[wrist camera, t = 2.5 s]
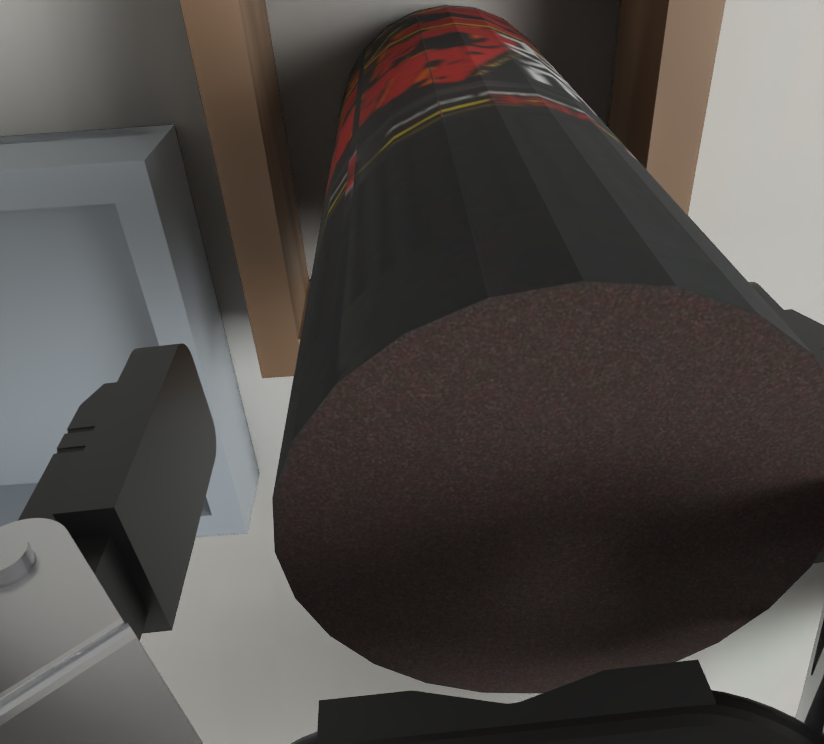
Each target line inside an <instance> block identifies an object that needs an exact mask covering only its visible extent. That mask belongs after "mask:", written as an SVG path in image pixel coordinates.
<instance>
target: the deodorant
mask: <svg viewBox="0 0 824 744" xmlns="http://www.w3.org/2000/svg"><path fill="white" fill-rule="evenodd" d="M273 520H274V543H275V553H276V555H277V558H278V560H279V562H280V565H281V567H282V569H283V571H284V574H285V576H286V578H287V581H288V583H289V585H290V587H291V590H292V592H293V594H294V596H295V598H296V599H297V601H298V602H299V603H300V604H301V605H302V606H303V607H304V608H305V609H306V610H307V611H308V612H309V614H310V615H311V616H312V617H313V618H314V619H315V620H316V621H317V622H318V623H319V624H320V626H321V627H322V628H323V629H324V630H325V631H326V632H327V633H328V634H329V635H330V636H331V637H333V638H334V639H336V640H337V641H339V642H341V643H342V644H344V645H345V646H347V647H348V648H350V649H352V650H353V651H355V652H356V653H358V654H359V655H361V656H363V657H364V658H366V659H367V660H369V661H370V662H372V663H374V664H376V665H379V666H381V667H384V668H387V669H390V670H392V671H395V672H398V673H401V674H403V675H406V676H409V677H412V678H414V679H417V680H420V681H422V682H425V683H430V684H436V685H442V686H448V687H454V688H459V689H465V690H471V691H477V692H486V693H545V692H548V691H551V690H553V689H556V688H558V687H561V686H564V685H566V684H569V683H572V682H574V681H577V680H579V679H582V678H585V677H587V676H590V675H592V674H595V673H598V672H600V671H603V670H608V669H617V668H626V667H635V666H645V665H654V664H663V663H673V662H676V661H679V660H681V659H683V658H685V657H687V656H690V655H692V654H694V653H696V652H698V651H701V650H703V649H705V648H707V647H709V646H711V645H714V644H716V643H718V642H720V641H721V640H723V639H724V638H726V637H727V636H728V635H730V634H731V633H733V632H734V631H736V630H737V629H739V628H740V627H742V626H743V625H745V624H746V623H748V622H749V621H751V620H752V619H754V618H755V617H757V616H758V615H760V614H761V613H763V612H764V611H766V610H767V609H769V608H770V607H771V606H772V605H773V604H774V603H775V602H776V601H777V600H778V599H779V598H780V597H781V596H782V595H783V594H784V593H785V592H786V591H787V590H788V589H789V588H790V587H791V586H792V585H793V584H794V583H795V582H796V581H797V580H798V579H799V578H800V577H801V576H802V575H803V574H804V573H805V572H806V571H807V570H808V569H809V568H810V567H811V566H812V564H813V562H814V561H815V559H816V557H817V556H818V554H819V552H820V551H821V549H822V547H823V546H824V370H823V368H822V367H821V365H820V364H819V362H818V360H817V359H816V357H815V355H814V354H813V353H812V352H811V351H810V350H809V349H808V348H807V346H806V345H805V344H804V343H803V342H802V341H801V340H800V339H799V338H798V336H797V335H796V334H795V333H794V332H793V331H792V330H791V329H790V328H789V327H788V325H787V324H786V323H785V322H784V321H783V320H782V319H781V318H780V317H779V316H778V314H777V313H776V312H775V311H774V310H773V309H772V308H771V307H770V306H769V305H768V303H767V302H766V301H765V300H764V299H763V298H762V297H761V296H760V295H759V293H758V292H757V291H756V290H755V289H754V288H753V287H752V286H751V285H750V284H749V282H748V281H747V280H746V279H745V278H744V277H743V276H742V275H741V274H740V273H739V271H738V270H737V269H736V268H735V267H734V266H733V265H732V264H731V263H730V262H729V260H728V259H727V258H726V257H725V256H724V255H723V254H722V253H721V252H720V250H719V249H718V248H717V247H716V246H715V245H714V244H713V243H712V242H711V241H710V239H709V238H708V237H707V236H706V235H705V234H704V233H703V232H702V231H701V230H700V228H699V227H698V226H697V225H696V224H695V223H694V222H693V221H692V220H691V219H690V217H689V216H688V215H687V214H686V213H685V212H684V211H683V210H682V209H681V207H680V206H679V205H678V204H677V203H676V202H675V201H674V200H673V199H672V198H671V196H670V195H669V194H668V193H667V192H666V191H665V190H664V189H663V188H662V187H661V185H660V184H659V183H658V182H657V181H656V180H655V179H654V178H653V177H652V175H651V174H650V173H649V172H648V171H647V170H646V169H645V168H644V167H643V166H642V164H641V163H640V162H639V161H638V160H637V159H636V158H635V157H634V156H633V155H632V153H631V152H630V151H629V150H628V149H627V148H626V147H625V146H624V145H623V144H622V142H621V141H620V140H619V139H618V138H617V137H616V136H615V135H614V134H613V132H612V131H611V130H610V129H609V128H608V127H607V126H606V125H605V124H604V123H603V121H602V120H601V119H600V118H599V117H598V116H597V115H596V114H595V113H594V112H593V110H592V109H591V108H590V107H589V106H588V105H587V104H586V103H585V102H584V101H583V99H582V98H581V97H580V96H579V95H578V94H577V93H576V92H575V91H574V89H573V88H572V87H571V86H570V85H569V84H568V83H567V82H566V81H565V80H564V78H563V77H562V76H561V75H560V74H559V73H558V72H557V71H556V70H555V69H554V67H553V66H552V65H551V64H550V63H549V62H548V61H547V60H546V59H545V58H544V56H543V55H542V54H541V53H540V52H539V51H538V50H537V49H536V48H535V46H534V45H533V44H532V43H531V42H530V41H529V40H528V39H527V38H526V37H525V36H524V35H523V34H521V33H520V32H519V31H518V30H516V29H515V28H514V27H513V26H511V25H510V24H509V23H508V22H507V21H505V20H504V19H502V18H500V17H497V16H495V15H492V14H490V13H487V12H485V11H482V10H480V9H477V8H472V7H460V6H448V5H444V6H440V7H435V8H430V9H425V10H421V11H416V12H414V13H412V14H410V15H408V16H406V17H404V18H402V19H401V20H399V21H397V22H395V23H393V24H391V25H389V26H388V27H387V28H386V29H385V30H384V31H383V32H382V33H381V34H380V35H378V36H377V37H376V38H375V39H374V40H373V41H372V42H371V43H370V44H369V45H368V46H367V47H366V48H365V50H364V51H363V53H362V55H361V56H360V58H359V60H358V61H357V63H356V65H355V66H354V68H353V70H352V71H351V73H350V76H349V79H348V83H347V86H346V90H345V93H344V97H343V100H342V105H341V110H340V116H339V122H338V127H337V133H336V139H335V145H334V150H333V156H332V162H331V167H330V173H329V179H328V185H327V190H326V196H325V202H324V207H323V213H322V219H321V225H320V230H319V236H318V242H317V247H316V253H315V259H314V265H313V270H312V276H311V282H310V287H309V293H308V299H307V305H306V310H305V316H304V322H303V328H302V333H301V339H300V345H299V350H298V356H297V362H296V368H295V373H294V379H293V385H292V390H291V396H290V402H289V408H288V413H287V419H286V425H285V430H284V436H283V442H282V448H281V453H280V459H279V465H278V470H277V476H276V482H275V488H274V493H273Z"/></svg>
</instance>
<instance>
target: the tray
mask: <svg viewBox="0 0 824 744" xmlns="http://www.w3.org/2000/svg"><path fill="white" fill-rule="evenodd" d="M181 343H183V344H185V345H186V346H187V347H188V348H189V350H190V352H191V354H192V357H193V360H194V363H195V366H196V369H197V372H198V375H199V378H200V382H201V385H202V388H203V391H204V394H205V397H206V400H207V403H208V406H209V409H210V412H211V415H212V419H213V422H214V427H215V433H216V457H215V462H214V466H213V470H212V474H211V478H210V482H209V486H208V490H207V494H206V497H205V501H204V505H203V509H202V513H201V517H200V521H199V525H198V529H197V533H196V537H205V536H220V535H235V534H247V533H248V528H249V523H250V518H251V513H252V508H253V503H254V498H255V493H256V488H257V484H258V479H259V469H258V465H257V461H256V457H255V453H254V449H253V445H252V441H251V437H250V433H249V429H248V425H247V420H246V416H245V412H244V408H243V404H242V400H241V396H240V392H239V388H238V384H237V380H236V376H235V371H234V367H233V363H232V359H231V355H230V351H229V347H228V343H227V339H226V335H225V331H224V326H223V322H222V318H221V314H220V310H219V306H218V302H217V298H216V294H215V290H214V286H213V282H212V277H211V273H210V269H209V265H208V261H207V257H206V253H205V249H204V245H203V241H202V237H201V232H200V228H199V224H198V220H197V216H196V212H195V208H194V204H193V200H192V196H191V192H190V188H189V183H188V179H187V175H186V171H185V167H184V163H183V159H182V155H181V151H180V147H179V143H178V139H177V134H176V130H175V126H174V125H162V126H147V127H133V128H118V129H104V130H89V131H74V132H60V133H45V134H31V135H16V136H1V137H0V527H1V526H3V525H6V524H9V523H12V522H15V521H18V519H19V517H20V515H21V514H22V512H23V510H24V508H25V506H26V504H27V502H28V501H29V499H30V497H31V495H32V493H33V491H34V489H35V488H36V486H37V484H38V482H39V480H40V478H41V476H42V475H43V473H44V471H45V469H46V467H47V465H48V463H49V462H50V460H51V458H52V456H53V454H56V453H57V447H58V445H59V443H60V441H61V439H62V437H63V436H64V434H67V433H68V431H67V428H68V426H69V424H70V423H71V421H72V419H73V417H74V415H75V413H76V411H77V410H78V408H79V406H80V405H81V404H82V403H83V402H84V401H85V400H86V399H87V398H89V397H90V396H91V395H92V394H93V393H94V392H95V391H96V390H97V389H99V388H100V387H101V386H102V385H103V384H105V383H114V382H117V381H118V379H119V377H120V375H121V373H122V371H123V369H124V367H125V365H126V363H127V361H128V358H129V356H130V354H131V353H132V351H133V350H134V349H136V348H144V347H153V346H162V345H172V344H181Z"/></svg>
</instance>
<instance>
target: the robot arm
mask: <svg viewBox="0 0 824 744" xmlns="http://www.w3.org/2000/svg"><path fill="white" fill-rule="evenodd" d="M749 284H750V285H751V286H752V287H753V288H754V289H755V290H756V291H757V292H758V293H759V295H760V296H761V297H762V298H763V299H764V300H765V301H766V302H767V303H768V305H769V306H770V307H771V308H772V309H773V310H774V311H775V312H776V313H777V314H778V316H779V317H780V318H781V319H782V320H783V321H784V322H785V323H786V324H787V325H788V327H789V328H790V329H791V330H792V331H793V332H794V333H795V334H796V335H797V336H798V338H799V339H800V340H801V341H802V342H803V343H804V344H805V345H806V346H807V348H808V349H809V350H810V351H811V352H812V353H813V354H814V355H815V357H816V359H817V360H818V362H819V364H820V365H821V367H822V368H823V370H824V325H822V324H820V323H818V322H816V321H814V320H812V319H810V318H808V317H806V316H804V315H802V314H800V313H798V312H796V311H794V310H792V309H790V310H783V309H782V308H781V307H780V306H779V305H778V304H777V303H776V302H775V301H774V300H773V299H772V298H771V297H770V296H769V295H768V293H767V292H766V291H765V290H764V289H763V288H762V287H761V286H760V285H758V284H757V283H755V282H749ZM67 431H68V433H67V434H64V436H63V437H62V439H61V441H60V443H59V445H58V447H57V453H56V454H53V456H52V458H51V460H50V462H49V463H48V465H47V467H46V469H45V471H44V473H43V475H42V476H41V478H40V480H39V482H38V484H37V486H36V488H35V489H34V491H33V493H32V495H31V497H30V499H29V501H28V502H27V504H26V506H25V508H24V510H23V512H22V514H21V515H20V517H19V519H18V521H15V522H12V523H9V524H6V525H3V526H1V527H0V744H203V742H202V741H201V739H200V738H199V736H198V734H197V733H196V731H195V730H194V728H193V726H192V725H191V723H190V722H189V720H188V718H187V717H186V715H185V714H184V712H183V710H182V709H181V707H180V705H179V704H178V702H177V701H176V699H175V697H174V696H173V694H172V693H171V691H170V689H169V688H168V686H167V685H166V683H165V681H164V680H163V678H162V677H161V675H160V673H159V672H158V670H157V669H156V667H155V665H154V664H153V662H152V661H151V659H150V657H149V656H148V654H147V653H146V651H145V649H144V648H143V646H142V645H141V643H140V638H141V635H142V633H150V632H160V631H169V630H172V628H173V624H174V620H175V616H176V612H177V608H178V604H179V600H180V596H181V592H182V588H183V584H184V580H185V576H186V572H187V568H188V565H189V561H190V557H191V553H192V549H193V545H194V541H195V537H196V533H197V529H198V525H199V521H200V517H201V513H202V509H203V505H204V501H205V497H206V494H207V490H208V486H209V482H210V478H211V474H212V470H213V466H214V462H215V457H216V433H215V427H214V422H213V419H212V415H211V412H210V409H209V406H208V403H207V400H206V397H205V394H204V391H203V388H202V385H201V382H200V378H199V375H198V372H197V369H196V366H195V363H194V360H193V357H192V354H191V352H190V350H189V348H188V347H187V346H186V345H185V344H183V343H181V344H172V345H162V346H153V347H144V348H136V349H134V350H133V351H132V353H131V354H130V356H129V358H128V361H127V363H126V365H125V367H124V369H123V371H122V373H121V375H120V377H119V379H118V381H117V382H114V383H105V384H103V385H102V386H101V387H100V388H99V389H97V390H96V391H95V392H94V393H93V394H92V395H91V396H90V397H89V398H87V399H86V400H85V401H84V402H83V403H82V404H81V405H80V406H79V408H78V410H77V411H76V413H75V415H74V417H73V419H72V421H71V423H70V424H69V426H68V428H67ZM819 562H824V546H823V547H822V549H821V551H820V552H819V554H818V556H817V557H816V559H815V561H814V562H813V563H819ZM291 744H824V605H823V609H822V613H821V618H820V622H819V626H818V630H817V634H816V638H815V642H814V647H813V651H812V655H811V659H810V663H809V667H808V671H807V676H806V680H805V684H804V688H803V692H802V696H801V699H800V703H799V706H798V710H797V713H796V716H795V718H794V717H792V716H790V715H788V714H786V713H783V712H781V711H779V710H777V709H775V708H773V707H770V706H767V705H765V704H762V703H759V702H756V701H754V700H751V699H748V698H744V697H741V696H737V695H733V694H729V693H725V692H719V691H713V690H711V689H710V686H709V684H708V682H707V679H706V677H705V675H704V673H703V670H702V668H701V666H700V663H699V661H698V660H691V661H682V662H673V663H663V664H654V665H645V666H635V667H626V668H617V669H608V670H603V671H600V672H598V673H595V674H592V675H590V676H587V677H585V678H582V679H579V680H577V681H574V682H572V683H569V684H566V685H564V686H561V687H558V688H556V689H553V690H551V691H548V692H545V693H543V694H540V695H538V696H535V697H532V698H530V699H527V700H524V701H522V702H518V703H512V704H504V703H496V702H489V701H482V700H475V699H468V698H461V697H454V696H447V695H440V694H433V693H426V692H419V691H403V692H394V693H385V694H376V695H366V696H357V697H348V698H338V699H329V700H320V701H319V713H318V731H317V732H315V733H312V734H310V735H307V736H305V737H303V738H301V739H299V740H297V741H295V742H293V743H291Z"/></svg>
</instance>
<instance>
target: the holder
mask: <svg viewBox="0 0 824 744" xmlns="http://www.w3.org/2000/svg"><path fill="white" fill-rule="evenodd" d="M180 4H181V9H182V13H183V18H184V22H185V27H186V32H187V36H188V41H189V45H190V50H191V54H192V59H193V64H194V68H195V73H196V77H197V82H198V86H199V91H200V96H201V100H202V105H203V109H204V114H205V118H206V123H207V128H208V132H209V137H210V141H211V146H212V150H213V155H214V160H215V164H216V169H217V173H218V178H219V182H220V187H221V192H222V196H223V201H224V205H225V210H226V214H227V219H228V224H229V228H230V233H231V237H232V242H233V247H234V251H235V256H236V260H237V265H238V269H239V274H240V279H241V283H242V288H243V292H244V297H245V301H246V306H247V311H248V315H249V320H250V324H251V329H252V333H253V338H254V343H255V347H256V352H257V356H258V361H259V365H260V370H261V375H262V378H271V377H286V376H294V373H295V368H296V362H297V356H298V350H299V345H300V339H301V333H302V328H303V322H304V316H305V310H306V305H307V299H308V293H309V287H310V282H311V280H309V278H308V271H307V265H306V259H305V252H304V246H303V240H302V233H301V227H300V220H299V214H298V208H297V201H296V195H295V189H294V182H293V176H292V170H291V163H290V157H289V150H288V144H287V138H286V131H285V125H284V119H283V112H282V106H281V100H280V93H279V87H278V80H277V74H276V68H275V61H274V55H273V49H272V42H271V36H270V30H269V23H268V17H267V10H266V4H265V0H180ZM724 6H725V0H621V4H620V14H619V24H618V34H617V44H616V54H615V64H614V74H613V84H612V94H611V104H610V114H609V124H608V128H609V129H610V130H611V131H612V132H613V134H614V135H615V136H616V137H617V138H618V139H619V140H620V141H621V142H622V144H623V145H624V146H625V147H626V148H627V149H628V150H629V151H630V152H631V153H632V155H633V156H634V157H635V158H636V159H637V160H638V161H639V162H640V163H641V164H642V166H643V167H644V168H645V169H646V170H647V171H648V172H649V173H650V174H651V175H652V177H653V178H654V179H655V180H656V181H657V182H658V183H659V184H660V185H661V187H662V188H663V189H664V190H665V191H666V192H667V193H668V194H669V195H670V196H671V198H672V199H673V200H674V201H675V202H676V203H677V204H678V205H679V206H680V207H681V209H682V210H683V211H684V212H685V213H686V214H687V215H688V211H689V205H690V199H691V194H692V188H693V182H694V177H695V171H696V165H697V159H698V154H699V148H700V142H701V137H702V131H703V125H704V120H705V114H706V108H707V102H708V97H709V91H710V85H711V80H712V74H713V68H714V63H715V57H716V51H717V46H718V40H719V34H720V28H721V23H722V17H723V11H724Z"/></svg>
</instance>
